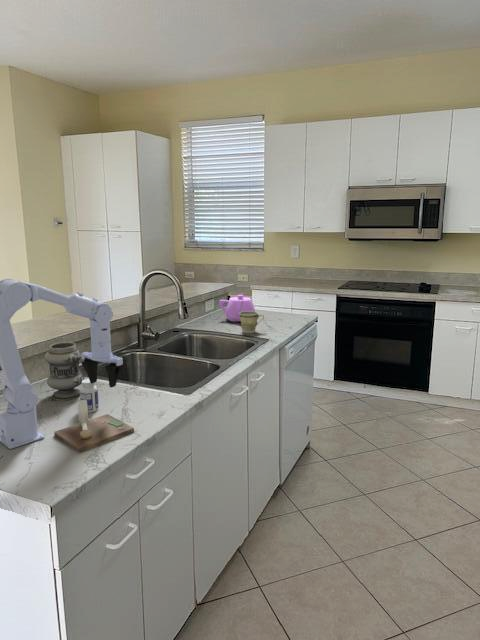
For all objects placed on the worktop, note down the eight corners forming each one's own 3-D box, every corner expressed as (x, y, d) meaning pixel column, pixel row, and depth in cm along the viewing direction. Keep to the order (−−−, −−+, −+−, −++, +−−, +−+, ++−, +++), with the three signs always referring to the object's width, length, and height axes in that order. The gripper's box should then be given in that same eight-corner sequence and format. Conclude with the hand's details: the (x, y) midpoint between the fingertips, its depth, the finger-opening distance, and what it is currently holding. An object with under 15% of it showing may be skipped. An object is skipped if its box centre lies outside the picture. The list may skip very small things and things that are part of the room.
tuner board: (79, 452, 126) (79, 447, 126) (54, 435, 136) (54, 431, 135) (134, 431, 138) (133, 427, 138) (107, 417, 148) (107, 413, 147)
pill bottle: (92, 405, 157) (90, 376, 155) (102, 409, 154) (100, 380, 152) (77, 410, 153) (75, 381, 151) (87, 414, 150) (85, 384, 148)
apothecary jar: (51, 390, 170) (47, 340, 166) (86, 387, 173) (83, 339, 169) (45, 403, 159) (40, 350, 155) (83, 400, 161) (79, 348, 157)
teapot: (218, 317, 290) (218, 292, 287) (253, 317, 292) (253, 292, 288) (220, 326, 268) (220, 299, 265) (257, 325, 270) (258, 299, 266)
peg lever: (92, 437, 131) (90, 413, 130) (80, 439, 130) (78, 415, 129) (88, 421, 141) (87, 399, 140) (78, 423, 140) (76, 400, 138)
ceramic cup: (238, 333, 251) (238, 314, 249) (240, 329, 261) (240, 311, 259) (263, 334, 250) (263, 315, 248) (264, 329, 260) (264, 311, 257)
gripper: (128, 341, 145) (130, 384, 148) (91, 335, 152) (94, 376, 155) (113, 347, 139) (115, 391, 142) (75, 340, 145) (78, 383, 148)
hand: (103, 384), depth 148 cm, fingers open, 7 cm apart
